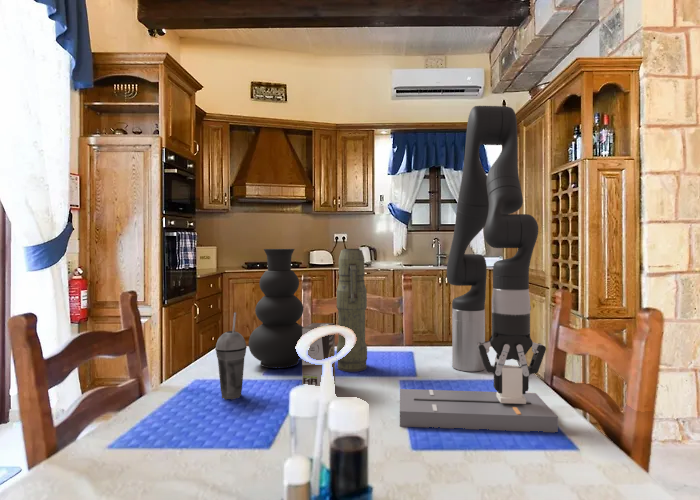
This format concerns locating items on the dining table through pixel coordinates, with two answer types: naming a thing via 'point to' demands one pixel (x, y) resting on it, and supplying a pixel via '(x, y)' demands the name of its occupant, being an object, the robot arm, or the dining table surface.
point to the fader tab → (511, 385)
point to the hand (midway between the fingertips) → (510, 392)
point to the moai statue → (352, 308)
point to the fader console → (474, 411)
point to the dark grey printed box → (317, 355)
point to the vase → (277, 313)
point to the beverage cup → (231, 362)
